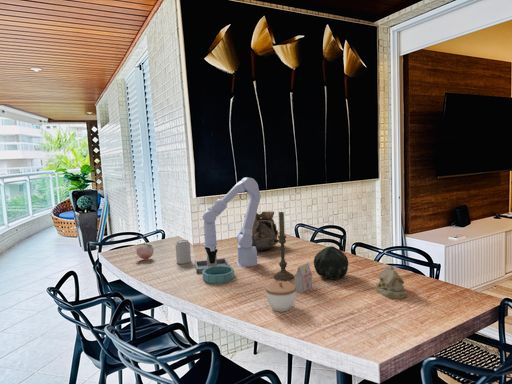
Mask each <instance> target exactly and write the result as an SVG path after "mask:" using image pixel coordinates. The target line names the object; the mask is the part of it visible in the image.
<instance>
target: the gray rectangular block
mask: <svg viewBox="0 0 512 384" xmlns="http://www.w3.org/2000/svg"><path fill="white" fill-rule="evenodd" d="M205 254H206V255H205V256H206V260H207V266H208V267H211V266H217V259H218V258H217V256H216V257H215V263H213V264H210V261H209V257H208V254H207V252H205Z"/></svg>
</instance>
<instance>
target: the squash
mask: <svg viewBox="0 0 512 384" xmlns="http://www.w3.org/2000/svg"><path fill="white" fill-rule="evenodd" d="M313 266H314V270H315V271H316V272H315V273H317V275H319V276H321V277H323V278H326V279H327V280H329V281H330V280H332V279H333V280H338V279H341V278H344V277H345V276H346V275H347V273H348V270H349V260H348V256H347V255H346V253H344V252H343V251H342V250H340V249H339V248H337V247H335V246H333V245H331V246H330V245H329V246H326V247H324V248H323V249H321V250H320V251H319V252H317V253H316V254H315V256H314V258H313Z"/></svg>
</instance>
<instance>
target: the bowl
mask: <svg viewBox="0 0 512 384" xmlns="http://www.w3.org/2000/svg"><path fill="white" fill-rule="evenodd" d="M201 275H202V276H201V277H202V280H203V281H204V282H205V283H206V284H211V285H214V284H215V285H218V284H224V283H228V282H230V281H233V280H234V278H235V269H234V267H232V266H230V267H229V266H213V267H209V268H206V269H204V270H203V271H202V273H201Z"/></svg>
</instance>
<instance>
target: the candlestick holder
mask: <svg viewBox="0 0 512 384" xmlns="http://www.w3.org/2000/svg"><path fill="white" fill-rule="evenodd" d="M278 225H279V229H278V230H279V231H278V232H279V235H277V239H278V240H279V242H278V243H279V244H280V246H279V247H280V248H279V250H280V257H281V260H280V262H279V263H278V265H279V267H280V270H279V271H278V272H276V273H275V274H273V279H274V280H277V281H283V280H284V281H290V280H292V279H295V275H294V274H293V273H291V272H290V271H287V270H286V268H287V265H288V262H286V260H285V251H286V247H285V244H287V243H286V242H287V240H286V239H287V235H285V213H284V212H283V211H282V210H281V211H279V212H278Z"/></svg>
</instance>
